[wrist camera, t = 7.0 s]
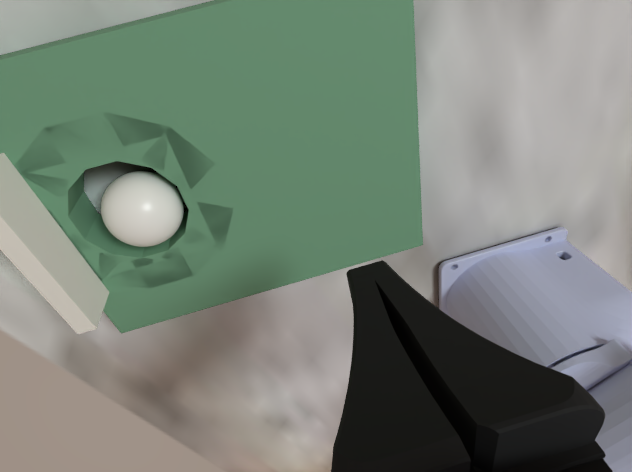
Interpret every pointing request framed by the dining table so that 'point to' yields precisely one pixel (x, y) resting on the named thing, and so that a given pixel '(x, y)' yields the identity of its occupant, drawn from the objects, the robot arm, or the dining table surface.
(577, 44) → the dining table surface
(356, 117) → the green
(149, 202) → the ball
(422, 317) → the robot arm
